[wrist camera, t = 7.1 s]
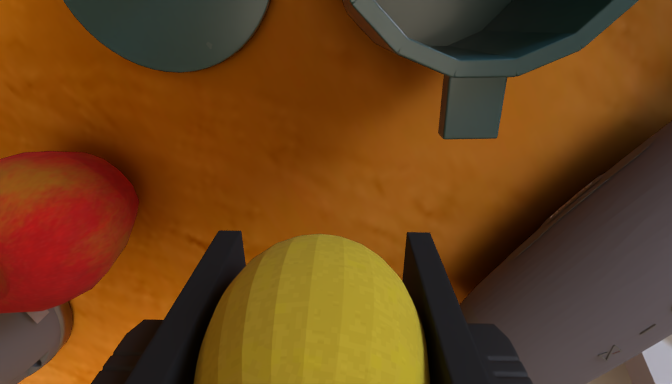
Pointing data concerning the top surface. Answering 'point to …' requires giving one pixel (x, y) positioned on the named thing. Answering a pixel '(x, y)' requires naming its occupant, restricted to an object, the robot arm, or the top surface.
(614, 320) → the bluetooth speaker
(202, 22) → the lid
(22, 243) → the apple
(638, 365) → the phone holder
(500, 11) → the pot
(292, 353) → the lemon
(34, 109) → the top surface
